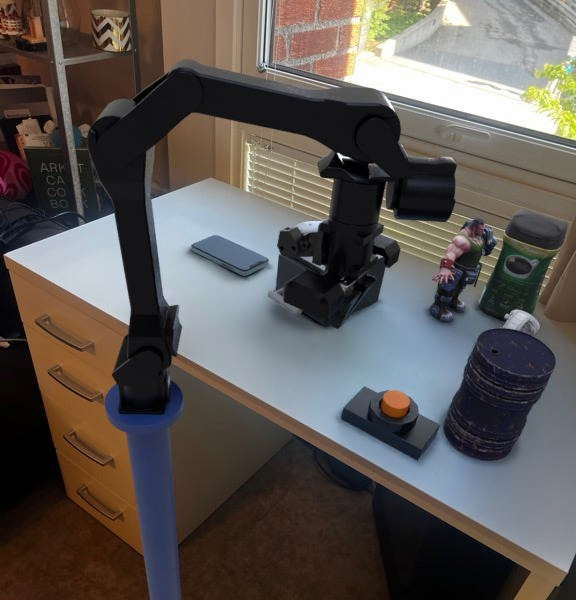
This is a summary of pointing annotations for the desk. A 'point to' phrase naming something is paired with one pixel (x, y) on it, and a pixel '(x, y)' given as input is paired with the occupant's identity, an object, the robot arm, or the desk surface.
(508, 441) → the navy cylinder
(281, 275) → the open black drawer
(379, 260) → the black drawer cabinet
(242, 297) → the desk surface
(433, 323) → the desk surface
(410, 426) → the button panel
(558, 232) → the coffee jar
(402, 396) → the button
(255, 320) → the desk surface
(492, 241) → the action figure
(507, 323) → the watch
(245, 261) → the smartphone
